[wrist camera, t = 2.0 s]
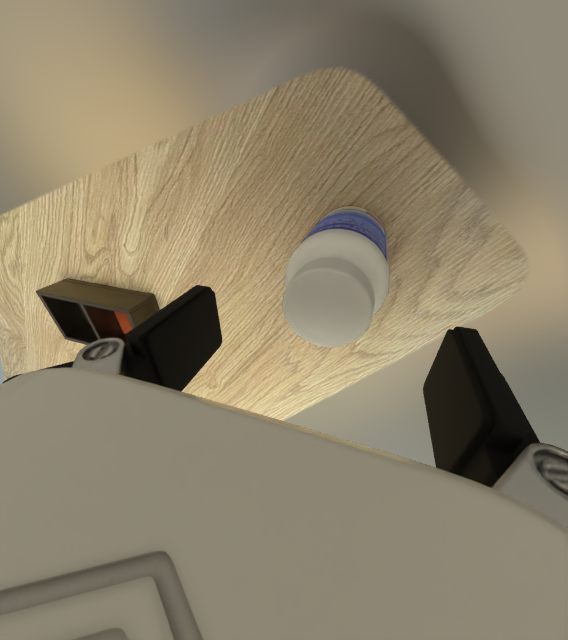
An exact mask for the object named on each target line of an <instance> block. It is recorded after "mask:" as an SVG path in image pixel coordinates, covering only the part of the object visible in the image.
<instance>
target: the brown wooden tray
mask: <svg viewBox="0 0 568 640" xmlns="http://www.w3.org/2000/svg"><path fill="white" fill-rule="evenodd" d="M36 293H37V294H38V296H39V297H40V299H41V301H42V302H43V304H44V306H45V307H46V309H47V310H48V312H49V314H50V315H51V317H52V318H53V320H54V322H55V323H56V325H57V326H58V328H59V330H60V331H61V333H62V334H63V336H64V338H65V339H67V340H71V341H75V342H78V343H82V344H86V345H88V344H90V343H92V342H95V341H97V340H100V339H104V338H119V339H121V340H122V341H123V342H124V344H126V343H127V342H128V339H127V336H126V333H128V332H129V331H131V330H132V329H134V328H135V327H136V326H138V325H139V324H141V323H142V322H144V321H145V320H147V319H148V318H150V317H151V316H152V315H154V314H155V313H157V312H158V311H159V308H158V305H157V302H156V299H155V296H154V294H149V293H143V292H138V291H132V290H127V289H121V288H116V287H110V286H105V285H99V284H94V283H88V282H83V281H77V280H72V279H64V280H62V281H59V282H57V283H54V284H52V285H49V286H47V287H44V288H42V289H39V290H37V291H36Z"/></svg>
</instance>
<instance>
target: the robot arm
mask: <svg viewBox="0 0 568 640" xmlns="http://www.w3.org/2000/svg"><path fill="white" fill-rule="evenodd" d="M126 336H127V339H128V342H127V343H126V344H124V342H123V341H122V340H121V339H119V338H104V339H100V340H97V341H95V342H92V343H90V344H88V345H87V346H85V347H84V348H82V349H81V350H80V351H79V353H78V354H77V356H76V358H75V361H73V362H69V363H65V364H61V365H57V366H53V367H49V368H45V369H41V370H37V371H32V372H28V373H25V374H19V375H16V376H13V377H11V378H9V379H7V380H6V381H4V382H3V384H1V385H0V640H568V451H566V450H564V449H561V448H559V447H556V446H553V445H550V444H544V443H540V442H539V440H538V438H537V436H536V434H535V433H534V431H533V429H532V427H531V425H530V423H529V422H528V420H527V418H526V416H525V414H524V413H523V411H522V409H521V407H520V405H519V404H518V402H517V400H516V398H515V396H514V394H513V393H512V391H511V389H510V387H509V385H508V383H507V382H506V381H505V378H504V376H503V375H502V374H501V373H500V371H499V370H498V368H497V366H496V364H495V362H494V361H493V359H492V357H491V355H490V353H489V351H488V349H487V348H486V346H485V344H484V342H483V340H482V339H481V336H480V335H479V333H478V331H477V330H476V329H470V328H464V327H455V328H454V329H453V330H450V329H449V330H448V331H447V333H446V335H445V337H444V340H443V342H442V344H441V346H440V349H439V351H438V353H437V356H436V358H435V360H434V362H433V365H432V367H431V369H430V371H429V374H428V376H427V378H426V381H425V383H424V387H423V394H424V399H425V405H426V411H427V416H428V423H429V429H430V434H431V440H432V446H433V452H434V458H435V463H436V468H435V467H432V466H429V465H426V464H423V463H420V462H416V461H413V460H410V459H406V458H403V457H400V456H397V455H394V454H391V453H388V452H384V451H381V450H378V449H375V448H371V447H368V446H365V445H361V444H358V443H354V442H351V441H348V440H344V439H341V438H338V437H334V436H331V435H328V434H324V433H321V432H317V431H314V430H311V429H308V428H304V427H300V426H298V425H294V424H291V423H287V422H284V421H281V420H277V419H274V418H270V417H267V416H263V415H260V414H257V413H253V412H250V411H246V410H243V409H240V408H236V407H233V406H229V405H226V404H222V403H219V402H215V401H212V400H209V399H205V398H202V397H198V396H195V395H191V394H188V393H184V392H181V391H182V390H183V389H184V388H185V387H186V386H187V384H188V383H189V382H190V381H191V380H192V379H193V377H194V376H195V375H196V374H197V373H198V372H199V371H200V369H201V368H202V367H203V366H204V365H205V364H206V362H207V361H208V360H209V359H210V358H211V357H212V355H213V354H214V353H215V352H216V351H217V350H218V348H219V347H220V346H221V344H222V335H221V329H220V322H219V316H218V310H217V304H216V298H215V293H214V291H212V289H211V288H210V287H206V286H200V285H196V286H195V287H193V288H192V289H190V290H189V291H187V292H186V293H184V294H183V295H181V296H180V297H179V298H177V299H176V300H174V301H173V302H171V303H170V304H168V305H167V306H166V307H164V308H163V309H161V310H160V311H158V312H157V313H155V314H154V315H152V316H151V317H150V318H148V319H147V320H145V321H144V322H142V323H141V324H139V325H138V326H136V327H135V328H134V329H132V330H131V331H129V332H128V333H126Z"/></svg>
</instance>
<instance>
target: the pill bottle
mask: <svg viewBox="0 0 568 640" xmlns="http://www.w3.org/2000/svg"><path fill="white" fill-rule="evenodd" d="M285 287H286V290H285V292H284V296H283V303H282V307H283V313H284V317H285V319H286V321H287V323H288V325H289V326H290V327H291V329H292V330H293V331H294V332H295V333H296V334H297V335H298V336H300V337H301V338H302V339H304V340H306V341H308V342H310V343H312V344H315V345H318V346H323V347H340V346H344V345H348V344H350V343H352V342H354V341H356V340H357V339H359V338H360V337H361V336H363V334H364V333H365V332H366V331H367V329H368V328H369V326H370V324H371V321H372V317H373V315H374V314H375V313H376V312H377V311H378V310H379V309H380V307H381V306H382V304H383V302H384V300H385V298H386V296H387V293H388V289H389V266H388V253H387V236H386V231H385V228H384V226H383V224H382V222H381V221H380V220H379V219H378V217H377V216H376V215H374V214H373V213H372V212H370V211H368V210H366V209H364V208H360V207H355V206H345V207H340V208H337V209H335V210H333V211H331V212H329V213H328V214H326V215H325V216H324V217H323V218H322V219H321V220H320V221H319V222H318V223H317V224H316V226H315V227H314V228H313V229H312V230H311V232H310V233H309V234H308V235H307V237H306V238H305V239H304V240H303V241H302V242H301V243H300V245H299V246H298V247H297V248H296V250H295V251H294V252H293V254H292V255H291V257H290V259H289V262H288V264H287V268H286V272H285Z"/></svg>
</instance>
